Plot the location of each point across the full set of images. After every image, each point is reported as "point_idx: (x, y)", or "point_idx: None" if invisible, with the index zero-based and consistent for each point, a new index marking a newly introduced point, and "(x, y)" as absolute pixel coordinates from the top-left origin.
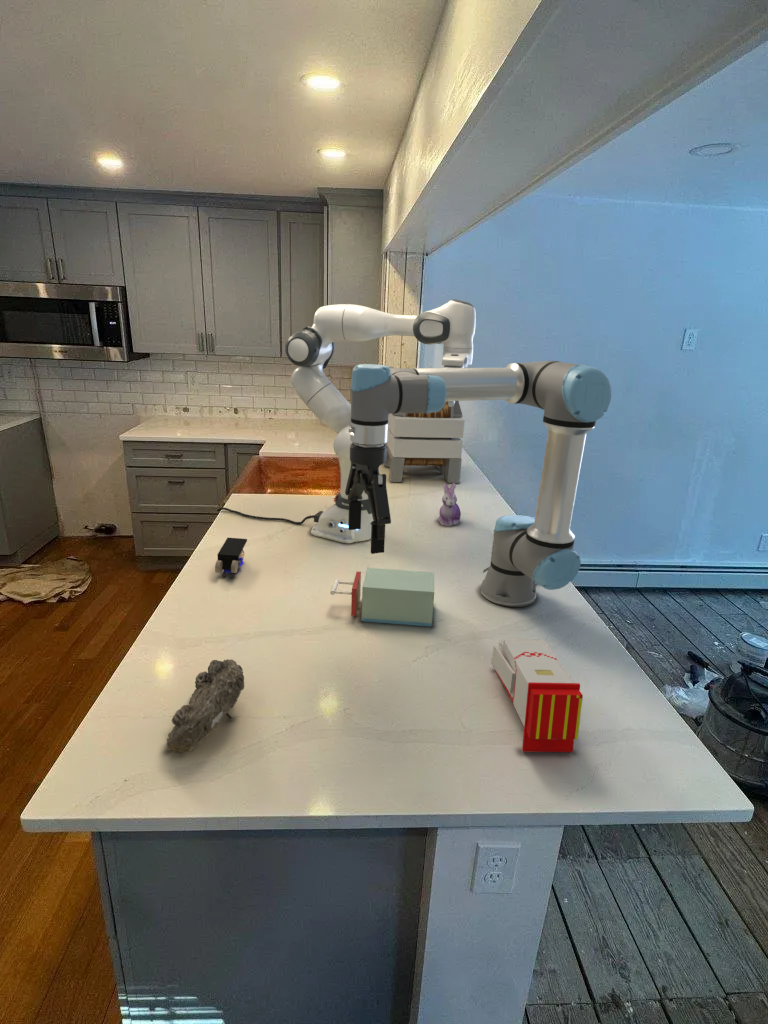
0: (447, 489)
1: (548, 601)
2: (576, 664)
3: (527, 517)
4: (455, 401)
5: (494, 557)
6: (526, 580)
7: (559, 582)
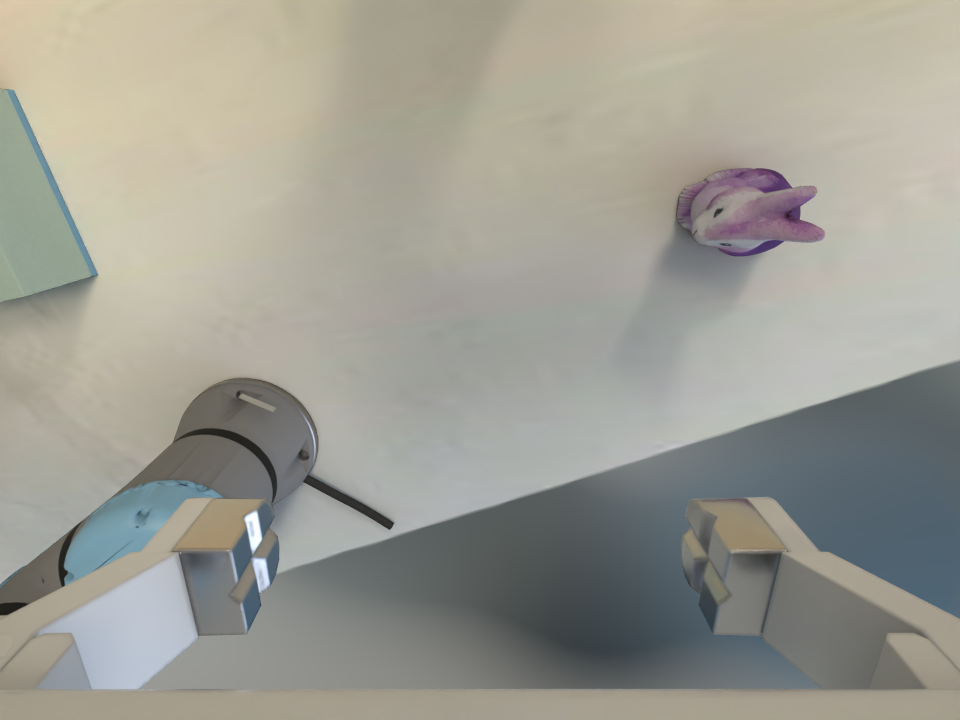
0: (766, 210)
1: None
2: None
3: None
4: (693, 531)
5: (161, 454)
6: None
7: None
